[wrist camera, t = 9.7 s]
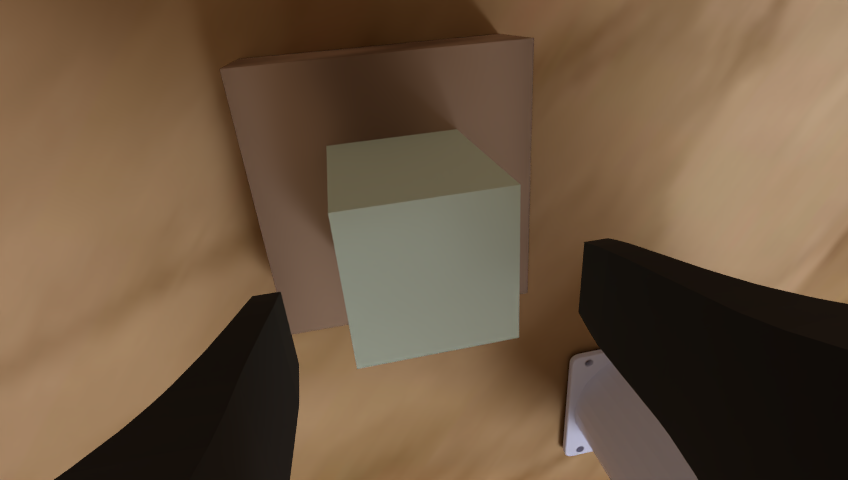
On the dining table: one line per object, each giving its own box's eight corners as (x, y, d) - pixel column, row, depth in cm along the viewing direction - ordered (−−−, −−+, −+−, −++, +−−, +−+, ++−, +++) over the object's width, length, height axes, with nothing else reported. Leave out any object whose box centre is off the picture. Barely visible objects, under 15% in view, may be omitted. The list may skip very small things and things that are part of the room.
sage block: (456, 129, 16) (520, 184, 11) (462, 244, 18) (519, 337, 13) (326, 145, 16) (327, 212, 10) (347, 262, 18) (357, 368, 12)
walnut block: (499, 33, 19) (533, 37, 16) (500, 255, 23) (527, 292, 20) (238, 58, 17) (219, 69, 14) (292, 289, 22) (287, 335, 19)
